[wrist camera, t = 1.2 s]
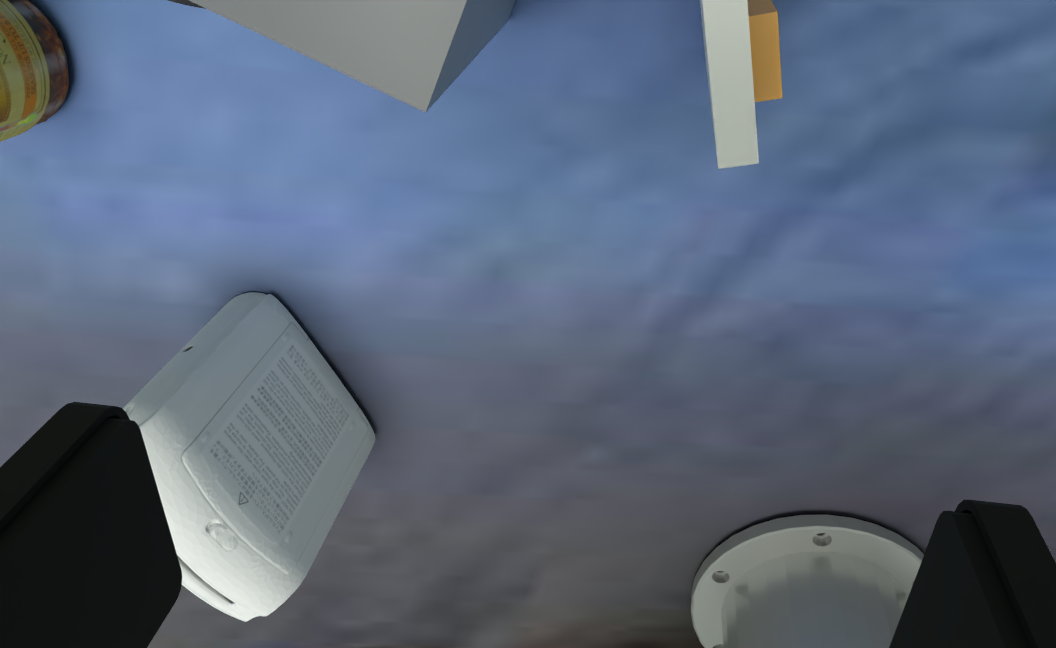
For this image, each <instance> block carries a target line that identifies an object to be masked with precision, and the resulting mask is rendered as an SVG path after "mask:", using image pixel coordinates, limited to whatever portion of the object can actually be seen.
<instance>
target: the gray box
mask: <svg viewBox="0 0 1056 648" xmlns="http://www.w3.org/2000/svg"><path fill="white" fill-rule="evenodd" d="M168 1H172V2H176V3H180V4H184V5H189V6H194V7H199V8H205V9H208V10H210V11H212V12H214V13H217V14H219V15H221V16H223V17H225V18H227V19H229V20H231V21H233V22H236V23H238V24H240V25H242V26H244V27H246V28H248V29H250V30H252V31H255V32H257V33H259V34H261V35H263V36H265V37H267V38H269V39H271V40H274V41H276V42H278V43H280V44H282V45H284V46H286V47H288V48H290V49H293V50H295V51H297V52H299V53H301V54H303V55H305V56H307V57H309V58H312V59H314V60H316V61H318V62H320V63H322V64H324V65H326V66H328V67H331V68H333V69H335V70H337V71H339V72H341V73H343V74H345V75H347V76H350V77H352V78H354V79H356V80H358V81H360V82H362V83H364V84H366V85H369V86H371V87H373V88H375V89H377V90H379V91H381V92H383V93H385V94H388V95H390V96H392V97H394V98H396V99H398V100H400V101H402V102H404V103H407V104H409V105H411V106H413V107H415V108H417V109H419V110H421V111H423V112H426V111H427V110H428V109H429V108H430V107H431V106H432V105H433V104H434V102H435V101H436V100H437V99H438V98H439V97H440V96H441V95H442V94H443V92H444V91H445V90H446V89H447V88H448V87H449V86H450V85H451V84H452V82H453V81H454V80H455V79H456V78H457V77H458V76H459V75H460V74H461V72H462V71H463V70H464V69H465V68H466V67H467V66H468V65H469V64H470V62H471V61H472V60H473V59H474V58H475V57H476V56H477V55H478V54H479V52H480V51H481V50H482V49H483V48H484V47H485V46H486V45H487V44H488V42H489V41H490V40H491V39H492V38H493V37H494V36H495V35H496V34H497V32H498V31H499V30H500V29H501V28H502V27H503V26H504V25H505V24H506V22H507V21H508V19H509V17H510V14H511V12H512V9H513V7H514V4H515V2H516V0H168Z"/></svg>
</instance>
